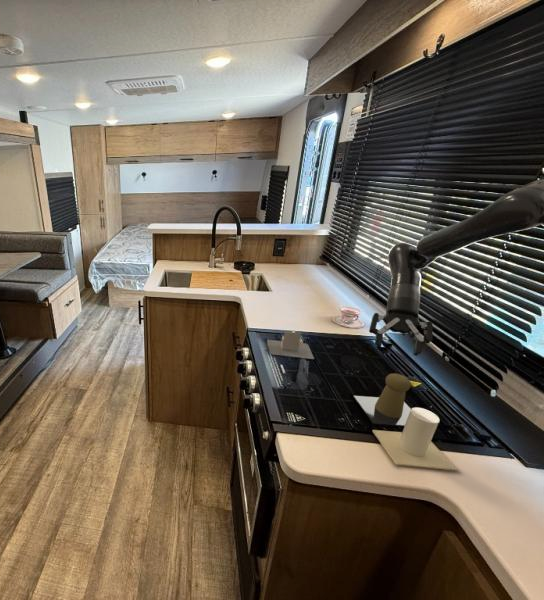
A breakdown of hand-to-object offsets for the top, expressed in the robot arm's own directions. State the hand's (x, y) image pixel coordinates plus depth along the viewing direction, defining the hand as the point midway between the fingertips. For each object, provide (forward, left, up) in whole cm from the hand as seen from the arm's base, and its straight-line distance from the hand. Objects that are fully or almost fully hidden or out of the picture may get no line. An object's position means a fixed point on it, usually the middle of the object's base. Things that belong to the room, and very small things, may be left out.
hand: (397, 350), depth 89 cm
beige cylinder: (+7, +24, -13) cm, 28 cm away
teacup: (-10, -47, -14) cm, 50 cm away
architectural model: (+22, -21, -14) cm, 33 cm away
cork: (+5, +10, -13) cm, 17 cm away
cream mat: (+7, +24, -13) cm, 28 cm away
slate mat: (+5, +11, -13) cm, 18 cm away
